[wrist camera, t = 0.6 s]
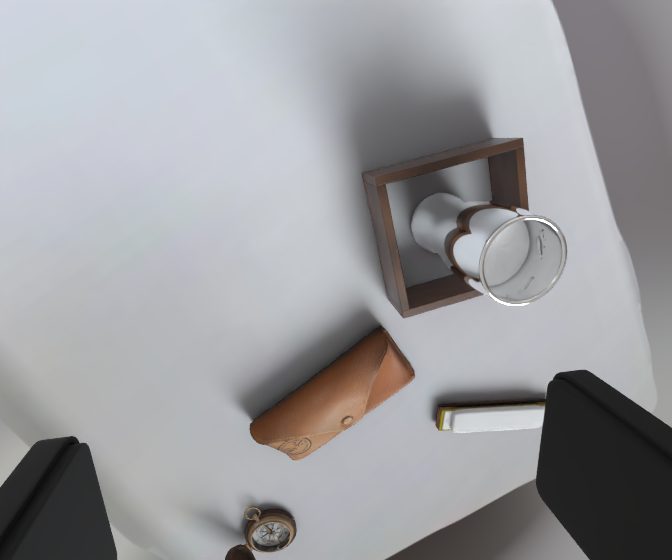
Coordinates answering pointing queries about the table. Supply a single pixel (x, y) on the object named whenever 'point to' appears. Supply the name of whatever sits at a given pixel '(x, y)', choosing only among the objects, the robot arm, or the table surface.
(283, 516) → the compass
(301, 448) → the sunglasses case
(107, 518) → the robot arm
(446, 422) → the harmonica
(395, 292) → the crate
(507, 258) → the beer glass
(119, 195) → the table surface
